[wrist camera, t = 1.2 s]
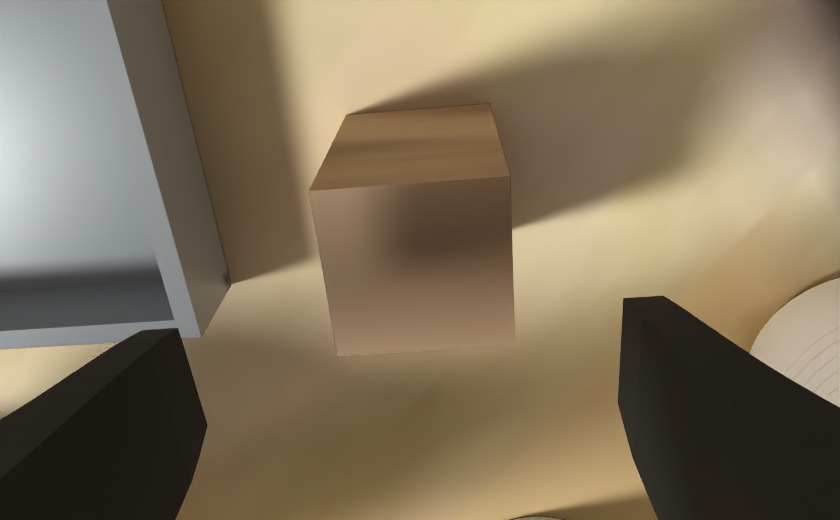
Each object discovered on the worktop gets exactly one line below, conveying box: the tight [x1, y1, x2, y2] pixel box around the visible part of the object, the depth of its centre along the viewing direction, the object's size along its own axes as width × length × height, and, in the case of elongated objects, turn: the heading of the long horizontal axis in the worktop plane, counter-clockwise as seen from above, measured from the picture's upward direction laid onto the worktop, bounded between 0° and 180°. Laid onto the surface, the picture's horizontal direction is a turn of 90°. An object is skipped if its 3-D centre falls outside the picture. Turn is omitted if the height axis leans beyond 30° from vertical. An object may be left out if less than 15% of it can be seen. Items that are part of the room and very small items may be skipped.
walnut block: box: [309, 103, 515, 356], centre depth 17 cm, size 4×4×6 cm
